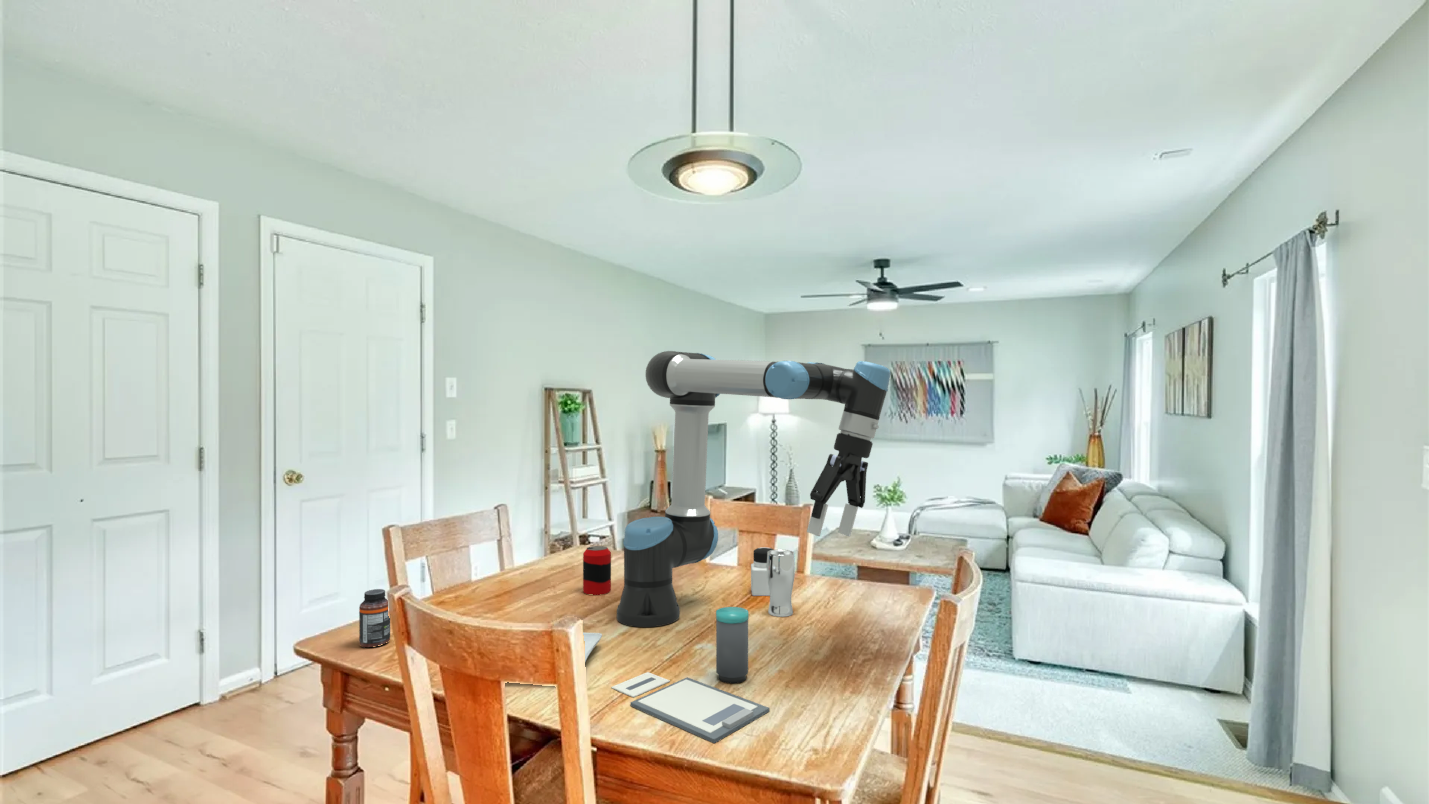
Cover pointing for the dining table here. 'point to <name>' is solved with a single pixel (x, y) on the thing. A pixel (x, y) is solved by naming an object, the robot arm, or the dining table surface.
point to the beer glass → (780, 581)
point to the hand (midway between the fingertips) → (829, 534)
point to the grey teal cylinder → (732, 644)
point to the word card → (640, 684)
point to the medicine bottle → (760, 573)
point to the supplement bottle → (374, 619)
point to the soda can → (597, 570)
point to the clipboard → (700, 709)
